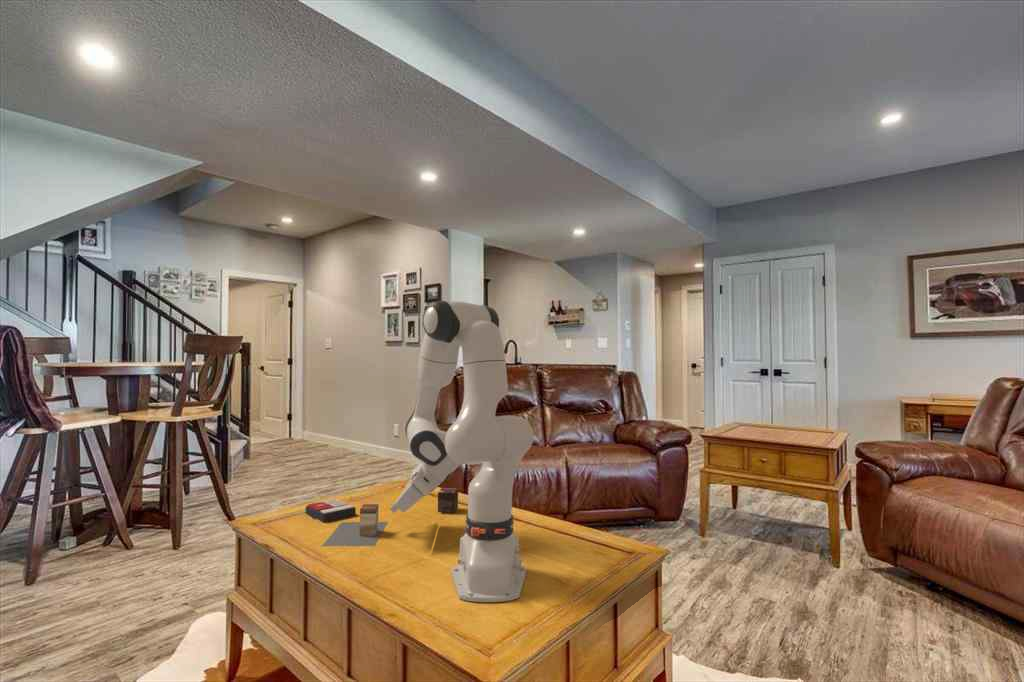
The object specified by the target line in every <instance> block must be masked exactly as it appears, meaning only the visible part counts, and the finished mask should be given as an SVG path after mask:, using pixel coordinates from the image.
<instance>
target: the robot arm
mask: <svg viewBox="0 0 1024 682" xmlns="http://www.w3.org/2000/svg"><path fill="white" fill-rule="evenodd" d="M422 326H423V327H422V328H423V330H424V332H425V333H424V335H423V339H422V341H421V342H422V343H421V346H420V347H421V348H420V351H419V352H420V353H419V357H418V366H417V367H418V370H417V372H418V390H417V394H416V401H415V406H414V410H413V412H412V414H411V415H410V417H409V419H408V420H407V422H406V424H405V428H404V430H405V435H406V437H407V442H408V445H409V450H410V452H411V454H412V455H413V456H414V457H415V458H416V459H418V460H420V463H418V464H417V465H416V466H415V467H414V469H412V471H411V477H410V480H409V481H408V482H407V484H406V485H404V488H403V489H402V490H401V493H400V494H399V497H398V498H397V499H396V501H395V502H394V503H393V504H392V506H391V507H390V509H389V510H390V511H391V512H392V513H393V514H394V513H396V512H397V511H398V510H399V511H400V512H402V513H405V512H406V511H408V510H409V509H411V508H412V507H413V506H414V505H416V504H417V503H418V502H419V501H420V500H421V499H422V498H423V497H428V496H429V495H430V493H433V492H434V491H435V490H436V488H438V487H439V486H440V485H441V484H442V483H443V482H444V481H445V480H446V477H448V475H450V474H451V473H453V472H454V471H455V470H457V468H459V467H460V465H470V466H472V465H473V466H474V465H480V464H482V465H481V467H480V470H479V471H478V473H477V474H476V475H475V476H474V477H473V478H472V479H471V481H470V482H469V485H468V488H467V489H468V491H467V492H468V493H467V514H466V516H465V518H466V519H465V533H464V534H463V535H462V536H461V537H460V539H459V558H458V560H457V562H458V565H456V566H453V567H451V572H450V573H451V576H452V580H453V583H454V587H455V589H456V593H457V594H456V595H457V597H458V599H460V600H463V601H467V602H475V603H500V602H508V601H513V600H516V599H519V598H520V597H521V595H522V590H523V586H524V583H525V578H526V575H527V567H526V566H525V565H522V558H521V557H519V554H520V553H521V547H519V537H518V536H517V535H515V533H514V521H515V520H514V515H513V514H512V510H513V509H512V508H513V507H512V505H513V487H514V483H515V479H516V474H517V471H518V469H519V465H520V464H521V462H522V459H523V457H524V456H525V454H527V453H528V451H529V450H530V449H531V447H532V445H533V442H534V431H533V427H532V425H531V424H530V422H529V421H528V420H527V419H525V418H524V417H521V416H515V415H507V414H506V415H500V416H496V412H497V408H498V405H499V403H500V401H501V400H502V399H503V398H504V397H505V396H506V395H507V394H508V390H509V386H508V374H507V364H506V354H505V353H506V352H505V348H504V343H503V338H502V335H501V331H500V318H499V315H498V313H497V311H496V309H494V308H492V307H490V306H488V305H485V304H476V303H471V302H466V301H454V300H453V301H447V300H446V301H445V300H439V301H433V302H431V303H430V304H428V305H427V307H426V308H425V310H424V312H423V315H422ZM460 348H461V351H462V352H461V353H462V367H463V369H462V370H463V386H464V387H463V388H464V392H463V401H462V405H461V409H460V411H459V414H458V416H457V418H455V421H454V422H452V424H451V425H450V426H449V428H448V429H447V431H444V430H441V429H439V427H438V423H437V420H436V415H435V412H436V409H437V402H438V398H439V393H440V390H441V389H442V388H445V387H447V386H448V385H450V384H451V383H452V381H453V379H454V377H455V374H456V372H457V371H456V370H457V366H458V361H459V352H460Z"/></svg>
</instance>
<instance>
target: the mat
mask: <svg viewBox="0 0 1024 682" xmlns="http://www.w3.org/2000/svg"><path fill="white" fill-rule="evenodd" d="M388 523H389V522H388V521H378V531H377V533H376V535H375V536H360V521H341V523H339V525H338V526H337V527H336V529H335V530H334V531H333V532H332V533H331V535H330V536H329V537H328V538H326V540H325V541H324V542H323V544H322V546H321V547H351V546H352V547H357V546H358V547H359V546H360V547H371V546H372V547H375V546H376V544H377V542H378V541H379V539H380V537H381V536H382V534H383V532H384V530H385V528H386V526H387V525H388Z"/></svg>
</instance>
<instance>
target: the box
mask: <svg viewBox="0 0 1024 682" xmlns="http://www.w3.org/2000/svg"><path fill="white" fill-rule="evenodd" d="M458 509H459V488H458V487H441V488H440V489H439V491H438V492H437V513H441V514H453V513H455V514H456V512H457V510H458Z"/></svg>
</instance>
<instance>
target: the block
mask: <svg viewBox="0 0 1024 682" xmlns="http://www.w3.org/2000/svg"><path fill="white" fill-rule="evenodd" d="M379 506H380V505H379V503H363V504H362V505H361V507H360V508H359V522H360V536H375V535H376V533H377V531H378V522H379Z"/></svg>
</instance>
